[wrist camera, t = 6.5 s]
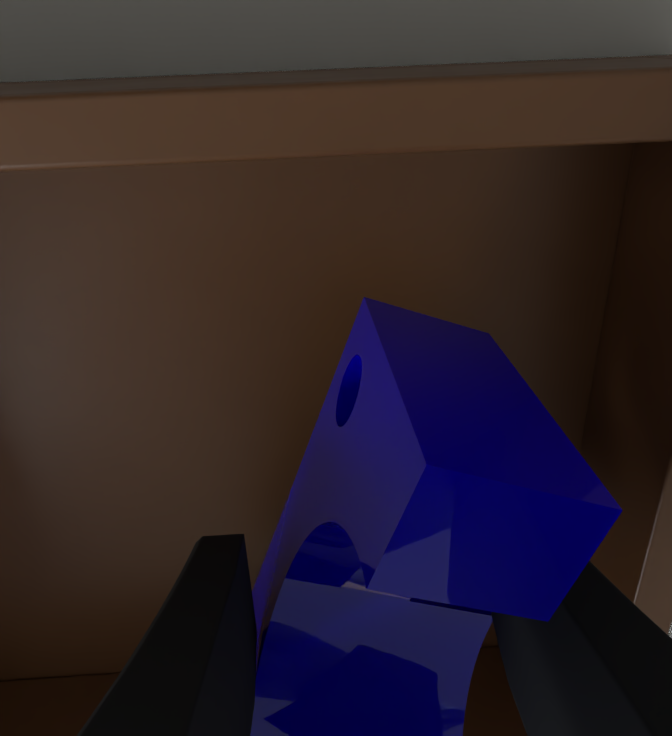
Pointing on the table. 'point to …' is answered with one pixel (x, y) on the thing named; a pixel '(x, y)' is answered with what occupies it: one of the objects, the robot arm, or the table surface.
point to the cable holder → (415, 533)
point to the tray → (303, 317)
